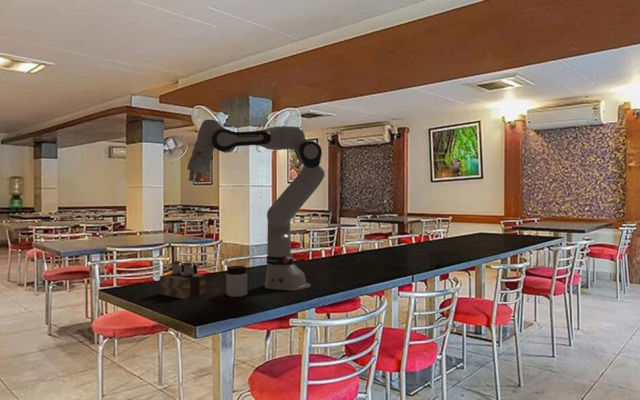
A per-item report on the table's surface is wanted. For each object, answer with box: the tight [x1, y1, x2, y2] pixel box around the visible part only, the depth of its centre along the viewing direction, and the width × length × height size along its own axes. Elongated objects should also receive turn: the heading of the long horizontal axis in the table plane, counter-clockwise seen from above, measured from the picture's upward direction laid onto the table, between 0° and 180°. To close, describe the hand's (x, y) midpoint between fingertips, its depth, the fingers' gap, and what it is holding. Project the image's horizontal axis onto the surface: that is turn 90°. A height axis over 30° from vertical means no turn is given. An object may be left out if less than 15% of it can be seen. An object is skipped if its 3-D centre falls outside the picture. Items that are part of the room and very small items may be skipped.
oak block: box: [159, 272, 207, 300], centre depth 204 cm, size 16×12×8 cm
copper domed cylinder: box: [183, 261, 195, 278], centre depth 202 cm, size 4×4×8 cm
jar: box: [225, 265, 248, 298], centre depth 202 cm, size 9×8×12 cm
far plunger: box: [171, 260, 183, 276], centre depth 206 cm, size 4×4×8 cm
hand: (193, 181), depth 216 cm, fingers open, 8 cm apart
